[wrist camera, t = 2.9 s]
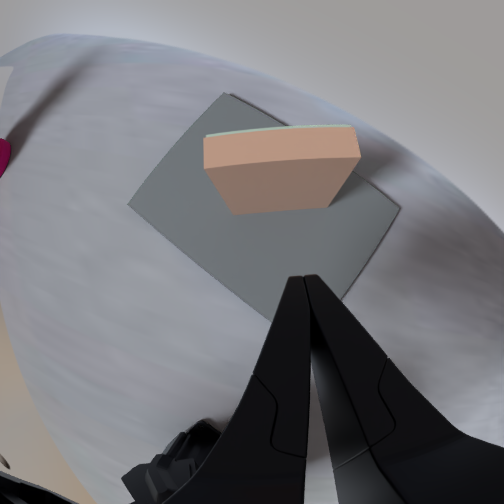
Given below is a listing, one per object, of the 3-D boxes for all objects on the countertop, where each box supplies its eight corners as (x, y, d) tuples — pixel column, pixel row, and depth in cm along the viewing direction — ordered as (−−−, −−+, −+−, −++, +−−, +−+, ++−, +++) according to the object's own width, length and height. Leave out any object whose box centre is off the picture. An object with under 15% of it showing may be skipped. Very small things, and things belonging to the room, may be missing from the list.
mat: (396, 210, 20) (399, 208, 20) (303, 344, 20) (303, 346, 19) (225, 95, 23) (224, 92, 22) (130, 206, 22) (127, 204, 22)
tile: (327, 207, 20) (361, 157, 11) (233, 215, 21) (203, 169, 12) (323, 184, 20) (353, 123, 11) (231, 192, 21) (203, 134, 12)
